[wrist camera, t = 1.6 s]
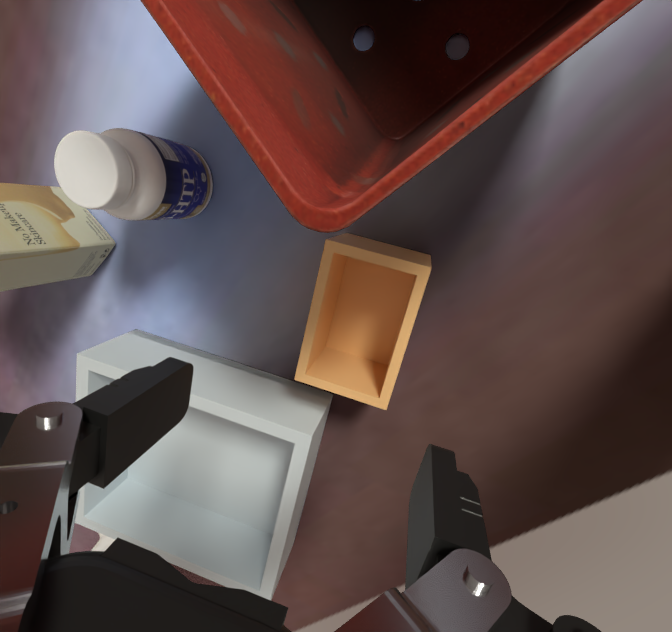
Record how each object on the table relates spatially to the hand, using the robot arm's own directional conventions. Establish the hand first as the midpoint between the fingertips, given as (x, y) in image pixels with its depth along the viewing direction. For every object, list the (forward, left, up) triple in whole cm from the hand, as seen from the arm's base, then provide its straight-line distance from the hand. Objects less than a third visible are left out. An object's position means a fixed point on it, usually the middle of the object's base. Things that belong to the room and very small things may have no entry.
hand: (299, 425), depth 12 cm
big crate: (+10, +16, -17) cm, 25 cm away
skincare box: (+25, +1, -17) cm, 30 cm away
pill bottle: (+16, -5, -17) cm, 24 cm away
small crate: (0, 0, -17) cm, 17 cm away
